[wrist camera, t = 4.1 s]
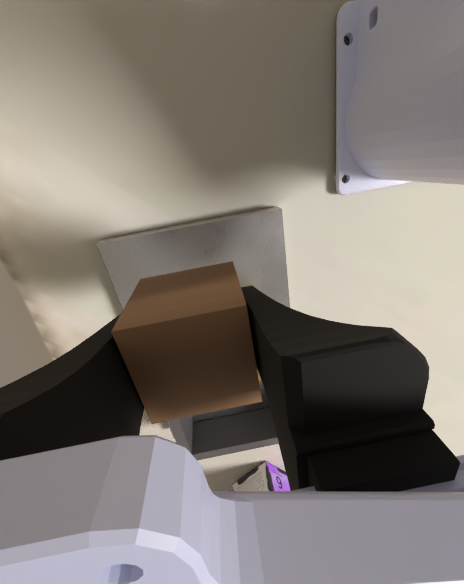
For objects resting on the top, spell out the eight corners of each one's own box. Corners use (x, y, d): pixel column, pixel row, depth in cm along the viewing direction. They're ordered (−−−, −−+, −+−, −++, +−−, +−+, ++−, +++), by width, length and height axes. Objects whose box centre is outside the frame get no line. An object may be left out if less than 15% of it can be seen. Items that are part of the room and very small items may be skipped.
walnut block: (140, 278, 11) (111, 331, 8) (232, 261, 11) (246, 305, 8) (165, 352, 13) (152, 424, 9) (245, 337, 13) (262, 401, 10)
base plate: (103, 239, 18) (80, 255, 15) (277, 206, 18) (293, 214, 15) (175, 427, 26) (171, 465, 23) (294, 403, 26) (307, 437, 23)
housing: (170, 384, 22) (165, 414, 19) (278, 362, 22) (288, 389, 20) (186, 430, 25) (184, 462, 22) (283, 410, 25) (293, 440, 22)
